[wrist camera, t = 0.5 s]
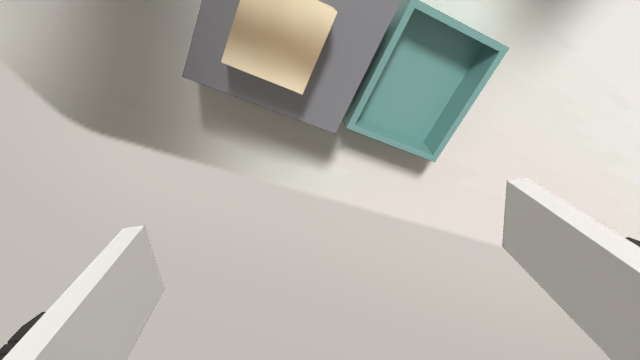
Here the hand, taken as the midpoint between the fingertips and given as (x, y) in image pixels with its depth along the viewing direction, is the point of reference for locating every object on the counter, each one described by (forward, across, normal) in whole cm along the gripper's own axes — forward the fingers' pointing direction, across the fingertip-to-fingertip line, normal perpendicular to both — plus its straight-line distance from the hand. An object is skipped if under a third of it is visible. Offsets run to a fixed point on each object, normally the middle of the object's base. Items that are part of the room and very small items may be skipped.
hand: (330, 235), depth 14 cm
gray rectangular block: (+24, -1, +8) cm, 25 cm away
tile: (+18, -2, +8) cm, 19 cm away
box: (+25, +10, +2) cm, 27 cm away
